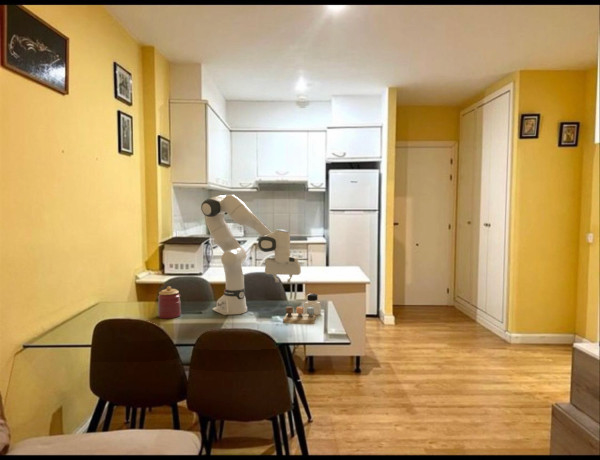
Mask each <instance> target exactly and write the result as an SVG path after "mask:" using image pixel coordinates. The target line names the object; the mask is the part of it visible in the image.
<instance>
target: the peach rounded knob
mask: <svg viewBox="0 0 600 460" xmlns="http://www.w3.org/2000/svg"><path fill="white" fill-rule="evenodd" d="M295 309H296V310H295V311H296V313H297V314H298V317H302V314H304V306H297V307H296V308H295Z"/></svg>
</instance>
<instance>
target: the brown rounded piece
mask: <svg viewBox="0 0 600 460" xmlns="http://www.w3.org/2000/svg"><path fill="white" fill-rule="evenodd" d="M285 313H286V314H287V313H288V316H289V317H290V316H291V313H294V306H290V305H289V306H286V307H285Z"/></svg>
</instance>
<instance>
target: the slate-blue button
mask: <svg viewBox="0 0 600 460" xmlns="http://www.w3.org/2000/svg"><path fill="white" fill-rule="evenodd" d="M307 314H309V317H312V314H314V308H313V307H308V308H307Z"/></svg>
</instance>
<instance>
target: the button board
mask: <svg viewBox="0 0 600 460" xmlns="http://www.w3.org/2000/svg"><path fill="white" fill-rule="evenodd" d="M316 319H317V315H316V314H312V317H309V314H304V313H303V314H302V317H298V314H297V313H295V312H293V313H291V316H290V317H289V316H288V313H286V314H285V315H284V316H283V319H282V322H283V323H286V324H287V323H289V324H315V321H316Z"/></svg>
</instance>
